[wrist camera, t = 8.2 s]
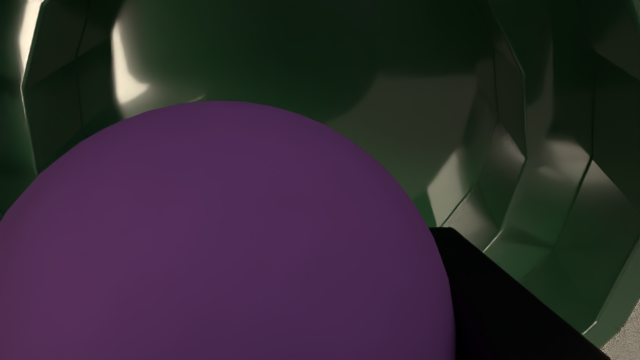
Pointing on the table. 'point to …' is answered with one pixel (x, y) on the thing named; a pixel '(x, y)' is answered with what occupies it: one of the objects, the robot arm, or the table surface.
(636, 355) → the table surface
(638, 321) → the table surface
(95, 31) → the bowl
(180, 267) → the ball
